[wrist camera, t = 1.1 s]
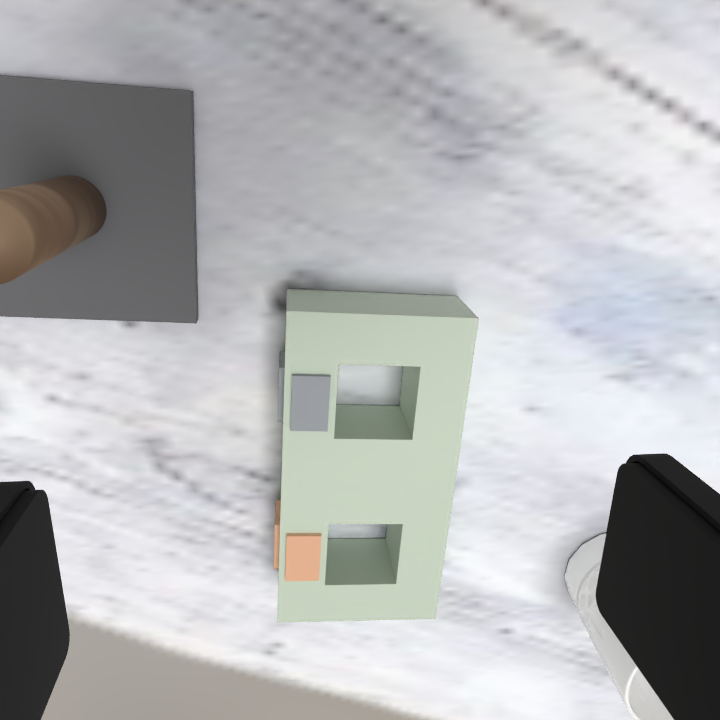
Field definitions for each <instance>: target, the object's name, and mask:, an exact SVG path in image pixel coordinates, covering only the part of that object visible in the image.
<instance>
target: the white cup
mask: <svg viewBox="0 0 720 720" xmlns="http://www.w3.org/2000/svg"><path fill="white" fill-rule="evenodd" d="M605 538H606V534H601V535H599V536H597V537H595V538H593V539H591V540H590V541H588V542H586V543H584V544H583V545H581V547H580V548H579V549H578V550H577V551H576V552H575V554H574V555H573V556H572V557H571V558H570V560H569V563H568V566H567V570H566V573H565V581H566V585H567V588H568V592H569V594H570V596H571V598H572V600H573V602H574V604H575V606H576V608H577V609H578V611H579V615H580V617H581V620H582V622H583V624H584V626H585V628H586V630H587V631H588V634H589V636H590V638H591V640H592V642H593V644H594V646H595V648H596V651H597V652H598V654H599V656H600V658H601V660H602V662H603V664H604V666H605V668H606V670H607V672H608V673H609V675H610V677H611V679H612V681H613V683H614V685H615V687H616V689H617V691H618V693H619V695H620V697H621V698H622V700H623V702H624V704H625V706H626V708H627V710H628V712H629V714H630V715H631V716H632V717H633V719H634V720H674V719H673V718H672V716H671V715H670V713H669V712H668V710H667V709H666V708H665V706H664V705H663V703H662V702H661V700H660V699H659V697H658V696H657V695H656V693H655V692H654V690H653V689H652V687H651V686H650V684H649V683H648V682H647V680H646V679H645V677H644V676H643V674H642V673H641V672H640V670H639V669H638V667H637V666H636V664H635V663H634V661H633V660H632V659H631V657H630V656H629V654H628V653H627V651H626V650H625V648H624V647H623V646H622V644H621V643H620V641H619V640H618V638H617V637H616V635H615V634H614V633H613V631H612V630H611V628H610V627H609V625H608V624H607V623H606V621H605V620H604V618H603V617H602V615H601V613H600V612H599V609H598V606H597V602H596V587H597V581H598V576H599V570H600V565H601V560H602V554H603V549H604V543H605Z"/></svg>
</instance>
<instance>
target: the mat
mask: <svg viewBox="0 0 720 720" xmlns="http://www.w3.org/2000/svg"><path fill="white" fill-rule="evenodd" d="M66 175H72V176H78V177H81V178H84V179H86V180H87V181H89V182H91V183H92V184H93V185H94V186H95V187H96V188H97V189H98V190H99V191H100V193H101V194H102V196H103V198H104V201H105V204H106V210H107V214H106V219H105V222H104V225H103V226H102V228H101V229H100V230H99V231H98V232H97V233H96V234H94V235H93V236H91V237H89V238H87V239H86V240H84V241H82V242H80V243H78V244H77V245H75V246H73V247H71V248H69V249H68V250H66V251H64V252H62V253H60V254H59V255H57V256H55V257H53V258H51V259H50V260H48V261H46V262H44V263H42V264H41V265H39V266H37V267H35V268H34V269H32V270H30V271H28V272H26V273H25V274H23V275H21V276H19V277H17V278H16V279H14V280H12V281H10V282H7V283H4V284H0V316H6V317H34V318H63V319H91V320H119V321H147V322H175V323H197V320H198V289H197V244H196V200H195V156H194V112H193V91H190V90H177V89H165V88H152V87H140V86H128V85H115V84H103V83H90V82H78V81H66V80H53V79H41V78H28V77H16V76H4V75H0V190H2V189H7V188H11V187H16V186H20V185H25V184H29V183H34V182H38V181H42V180H47V179H51V178H56V177H60V176H66Z"/></svg>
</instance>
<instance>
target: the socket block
mask: <svg viewBox="0 0 720 720" xmlns="http://www.w3.org/2000/svg"><path fill="white" fill-rule="evenodd" d="M478 320H479V318H478V317H477V316H476V315H475V314H474V313H473V312H472V311H471V310H470V309H469V308H468V307H467V306H466V305H465V304H464V303H463V302H462V301H461V300H460V298H459V297H458V296H443V295H420V294H397V293H373V292H350V291H327V290H303V289H287V307H286V340H285V351H280V360H279V392H278V422H283V441H282V475H281V500H276V512H275V543H274V569H279V576H278V612H277V622H320V621H363V620H406V619H435V618H436V611H437V604H438V597H439V590H440V583H441V577H442V570H443V563H444V556H445V549H446V542H447V535H448V528H449V521H450V514H451V507H452V500H453V493H454V487H455V480H456V473H457V466H458V459H459V452H460V445H461V438H462V431H463V424H464V417H465V410H466V403H467V397H468V390H469V383H470V376H471V369H472V362H473V355H474V348H475V341H476V334H477V327H478ZM339 364H343V365H378V366H403V374H402V384H401V394H400V404H399V406H391V405H342V404H336V399H337V383H338V367H339ZM329 524H387V531H386V538H369V539H328V526H329Z"/></svg>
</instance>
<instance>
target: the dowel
mask: <svg viewBox="0 0 720 720" xmlns="http://www.w3.org/2000/svg"><path fill="white" fill-rule="evenodd" d="M106 214H107V210H106V204H105V201H104V198H103V196H102V194H101V193H100V191H99V190H98V189H97V188H96V187H95V186H94V185H93V184H92V183H91V182H89V181H87V180H86V179H84V178H81V177H78V176H72V175H66V176H60V177H56V178H51V179H47V180H42V181H38V182H34V183H29V184H25V185H20V186H16V187H11V188H7V189H2V190H0V284H4V283H7V282H10V281H12V280H14V279H16V278H17V277H19V276H21V275H23V274H25V273H26V272H28V271H30V270H32V269H34V268H35V267H37V266H39V265H41V264H42V263H44V262H46V261H48V260H50V259H51V258H53V257H55V256H57V255H59V254H60V253H62V252H64V251H66V250H68V249H69V248H71V247H73V246H75V245H77V244H78V243H80V242H82V241H84V240H86V239H87V238H89V237H91V236H93V235H94V234H96V233H97V232H98V231H99V230H100V229H101V228H102V226H103V225H104V222H105V219H106Z"/></svg>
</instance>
